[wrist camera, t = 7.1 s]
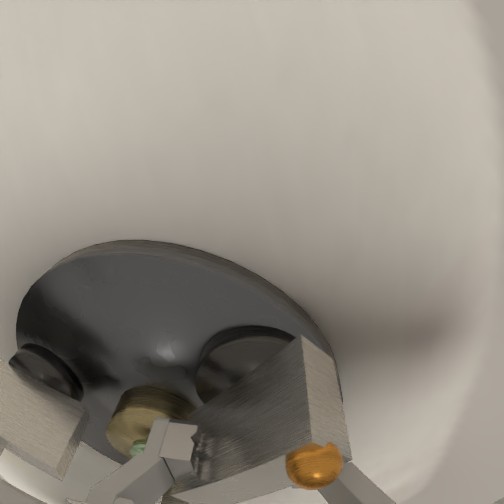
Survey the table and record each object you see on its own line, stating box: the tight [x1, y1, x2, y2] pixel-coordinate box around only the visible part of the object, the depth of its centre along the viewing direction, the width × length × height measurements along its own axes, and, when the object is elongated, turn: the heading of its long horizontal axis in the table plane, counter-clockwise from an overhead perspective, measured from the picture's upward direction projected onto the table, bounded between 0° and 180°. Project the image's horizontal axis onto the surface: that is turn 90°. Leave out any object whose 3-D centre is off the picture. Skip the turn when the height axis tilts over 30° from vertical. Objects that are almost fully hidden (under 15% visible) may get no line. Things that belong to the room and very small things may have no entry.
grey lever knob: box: [171, 325, 352, 504], centre depth 9 cm, size 6×4×6 cm
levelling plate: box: [16, 240, 343, 465], centre depth 14 cm, size 18×18×4 cm
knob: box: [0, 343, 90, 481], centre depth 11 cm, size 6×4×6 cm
